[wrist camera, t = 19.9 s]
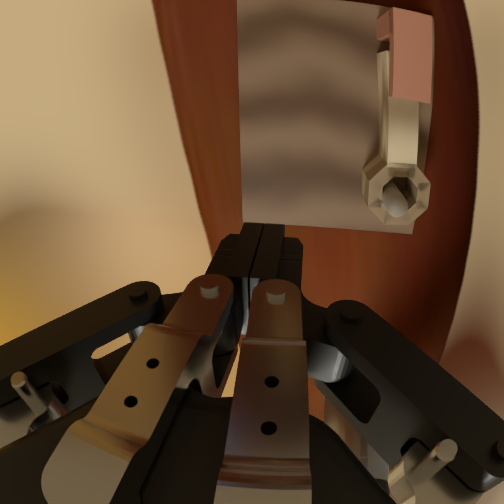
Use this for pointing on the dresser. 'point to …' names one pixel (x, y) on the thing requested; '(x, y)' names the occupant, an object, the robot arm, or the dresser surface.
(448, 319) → the dresser surface
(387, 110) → the birch link
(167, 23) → the dresser surface
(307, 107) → the hinge base
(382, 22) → the keeper
